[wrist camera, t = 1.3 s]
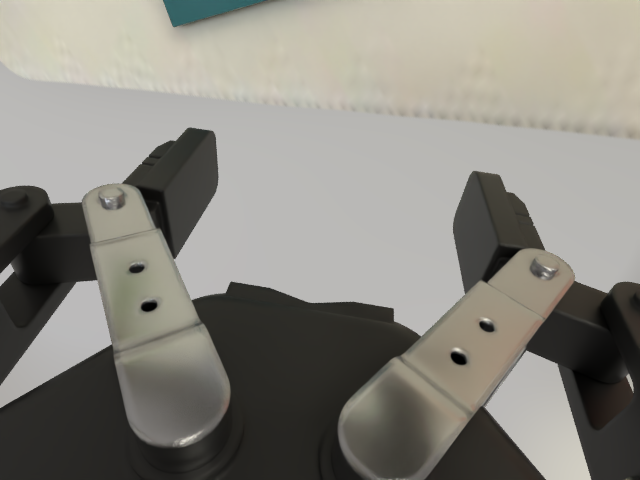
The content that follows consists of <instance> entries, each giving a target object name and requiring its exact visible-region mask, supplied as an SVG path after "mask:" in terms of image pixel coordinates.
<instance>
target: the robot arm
mask: <svg viewBox="0 0 640 480" xmlns="http://www.w3.org/2000/svg"><path fill="white" fill-rule="evenodd" d="M217 185H218V164H217V149H216V137H215V134H214V132H213V131H209V130H202V129H196V128H187V129H186V130H185V132H184V133H183V134H182V135H181V136H180V137H179V138H178V139H177V140H176V141H169V142H166V143H164V144H162V145H160V146H158V147H157V148H156V149H155V150H154V151H153V152H152V153H151V154H150V155H149V157H147V158H146V159H145V160H144V161H143V162H142V164H140V165H139V166H138V167H137V169H135V170H134V172H132V174H131V175H130V176H129V177H128V178H127V179H126V180H125V181H124V182H123V183H122V184H107V185H103V186H100V187H97V188H95V189H93V190H91V191H89V192H88V193H87V194H86V195H85V196H84V197H83V199H82V202H81V203H58V204H51V202H50V200H49V197H48V194H47V193H46V191H45V190H43V189H41V188H39V187H35V186H16V187H10V188H6V189H3V190H0V273H1V272H2V271H3V270H4V269H5V268H6V267H7V266H8V265H9V264H10V263H11V265H12V267H13V269H14V272H13V273H12V275H10V277H9V278H8V279H7V280H6V281H5V282H4V283H3V284H2V285H1V286H0V385H1V383H2V382H3V381H4V380H5V378H6V377H7V376H8V374H9V373H10V371H11V370H12V369H13V367H14V366H15V365H16V363H17V362H18V361H19V359H20V358H21V357H22V355H23V354H24V353H25V351H26V350H27V349H28V347H29V346H30V344H31V343H32V342H33V340H34V339H35V338H36V336H37V335H38V334H39V332H40V331H41V330H42V328H43V327H44V325H45V324H46V323H47V321H48V320H49V319H50V317H51V316H52V315H53V313H54V312H55V310H56V309H57V308H58V306H59V305H60V304H61V302H62V301H63V300H64V298H65V297H66V296H67V294H68V293H69V292H70V290H71V289H72V288H73V286H74V285H75V283H76V282H80V281H92V280H98V285H99V289H100V293H101V297H102V302H103V306H104V311H105V315H106V319H107V324H108V328H109V333H110V337H111V341H112V345H110V346H108V347H106V348H105V349H103V350H101V351H100V352H98V353H96V354H94V355H92V356H91V357H89V358H87V359H85V360H84V361H82V362H80V363H79V364H77V365H75V366H73V367H71V368H70V369H68V370H66V371H64V372H63V373H61V374H59V375H58V376H56V377H54V378H52V379H50V380H49V381H47V382H45V383H43V384H42V385H40V386H38V387H36V388H34V389H33V390H31V391H29V392H28V393H26V394H24V395H22V396H20V397H19V398H17V399H15V400H13V401H12V402H10V403H8V404H6V405H5V406H3V407H2V408H0V480H546V479H545V478H544V477H543V476H542V475H541V473H540V472H539V471H538V470H537V469H536V467H535V466H534V465H533V464H532V463H531V462H530V461H529V459H528V458H527V457H526V456H525V455H524V453H523V452H522V451H521V450H520V449H519V447H518V446H517V445H516V444H515V443H514V442H513V440H512V439H511V438H510V437H509V436H508V434H507V433H506V432H505V431H504V430H503V429H502V427H501V426H500V425H499V424H498V423H497V422H496V420H495V419H494V418H493V417H492V416H491V414H490V413H489V412H488V411H487V410H486V409H485V406H486V405H487V404H488V403H489V401H490V400H491V398H492V397H493V395H494V394H495V393H496V391H497V390H498V389H499V387H500V386H501V384H502V383H503V382H504V380H505V379H506V378H507V376H508V375H509V373H510V372H511V371H512V369H513V368H514V367H515V365H516V364H517V363H518V361H519V360H520V359H521V357H522V356H523V354H524V353H525V352H526V350H527V351H529V352H532V353H534V354H536V355H538V356H541V357H543V358H545V359H548V360H550V361H552V362H555V363H557V364H558V367H559V371H560V374H561V377H562V381H563V384H564V388H565V391H566V394H567V398H568V401H569V405H570V408H571V412H572V415H573V418H574V422H575V425H576V428H577V432H578V435H579V439H580V442H581V446H582V449H583V452H584V456H585V459H586V463H587V466H588V469H589V473H590V476H591V480H640V284H637V283H632V282H620V283H617V284H616V285H614V286H613V288H612V289H611V290H610V291H609V293H605V292H602V291H599V290H597V289H594V288H591V287H589V286H586V285H583V284H581V283H578V282H576V281H574V280H575V275H574V272H573V270H572V269H571V267H570V266H569V265H568V264H567V263H566V262H565V261H564V260H562V259H561V258H559V257H558V256H556V255H554V254H552V253H550V252H547V251H545V248H544V246H543V244H542V242H541V240H540V237H539V235H538V233H537V230H536V228H535V226H533V222H532V219H531V217H529V213H528V210H527V208H526V206H525V204H524V203H523V202H522V201H521V200H520V199H519V198H518V197H517V196H516V195H515V194H513V193H509V192H506V190H505V187H504V185H503V182H502V180H501V177H500V176H499V175H497V174H491V173H484V172H478V171H473V172H472V173H471V175H470V177H469V179H468V182H467V184H466V187H465V190H464V192H463V195H462V198H461V200H460V203H459V206H458V208H457V211H456V214H455V218H454V223H453V233H454V239H455V244H456V249H457V254H458V260H459V264H460V270H461V275H462V281H463V286H464V291H465V295H464V296H463V297H462V298H461V299H460V300H459V301H458V302H457V303H456V304H455V305H454V306H453V307H452V308H451V309H450V310H449V311H448V312H447V313H445V314H444V315H443V316H442V317H441V318H440V319H439V320H438V321H437V322H436V323H435V324H434V325H433V326H432V327H431V328H430V329H429V330H428V331H427V332H426V333H425V334H424V335H423V336H422V337H421V336H419V335H418V334H417V333H416V332H414V331H412V330H410V329H409V328H407V327H405V326H403V325H401V324H399V323H397V322H394V309H393V308H387V307H381V306H375V305H369V304H363V303H357V302H336V303H335V302H334V303H308V302H305V301H302V300H300V299H297V298H295V297H292V296H289V295H287V294H284V293H281V292H279V291H276V290H274V289H271V288H266V287H260V286H254V285H248V284H242V283H235V282H230V285H229V287H228V289H227V292H226V293H223V294H214V295H208V296H204V297H200V298H197V299H194V300H191V299H190V296H189V294H188V292H187V290H186V287H185V285H184V282H183V280H182V278H181V275H180V273H179V271H178V268H177V266H176V264H175V262H174V259H175V258H176V257H177V255H178V254H179V252H180V250H181V249H182V247H183V245H184V244H185V242H186V240H187V239H188V237H189V235H190V234H191V232H192V230H193V229H194V227H195V226H196V224H197V222H198V221H199V219H200V217H201V216H202V214H203V212H204V211H205V209H206V207H207V206H208V204H209V203H210V201H211V199H212V198H213V196H214V194H215V192H216V189H217ZM628 374H630V377H631V379H632V382H633V387H634V393H633V391H632V389H631V387H630V384H629V382H628V380H627V378H626V376H627V375H628Z"/></svg>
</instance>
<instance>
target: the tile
mask: <svg viewBox="0 0 640 480" xmlns="http://www.w3.org/2000/svg"><path fill="white" fill-rule="evenodd" d="M264 1H268V0H163V2H164V4H165V7H166V10H167V12H168V15H169V18H170V20H171V23H172V25H173V27H177V26H181V25H185V24H188V23H191V22H195V21H198V20H202V19H205V18H209V17H212V16H216V15H219V14H223V13H226V12H230V11H233V10H237V9H240V8H244V7H247V6H250V5H254V4H257V3H261V2H264Z"/></svg>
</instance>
